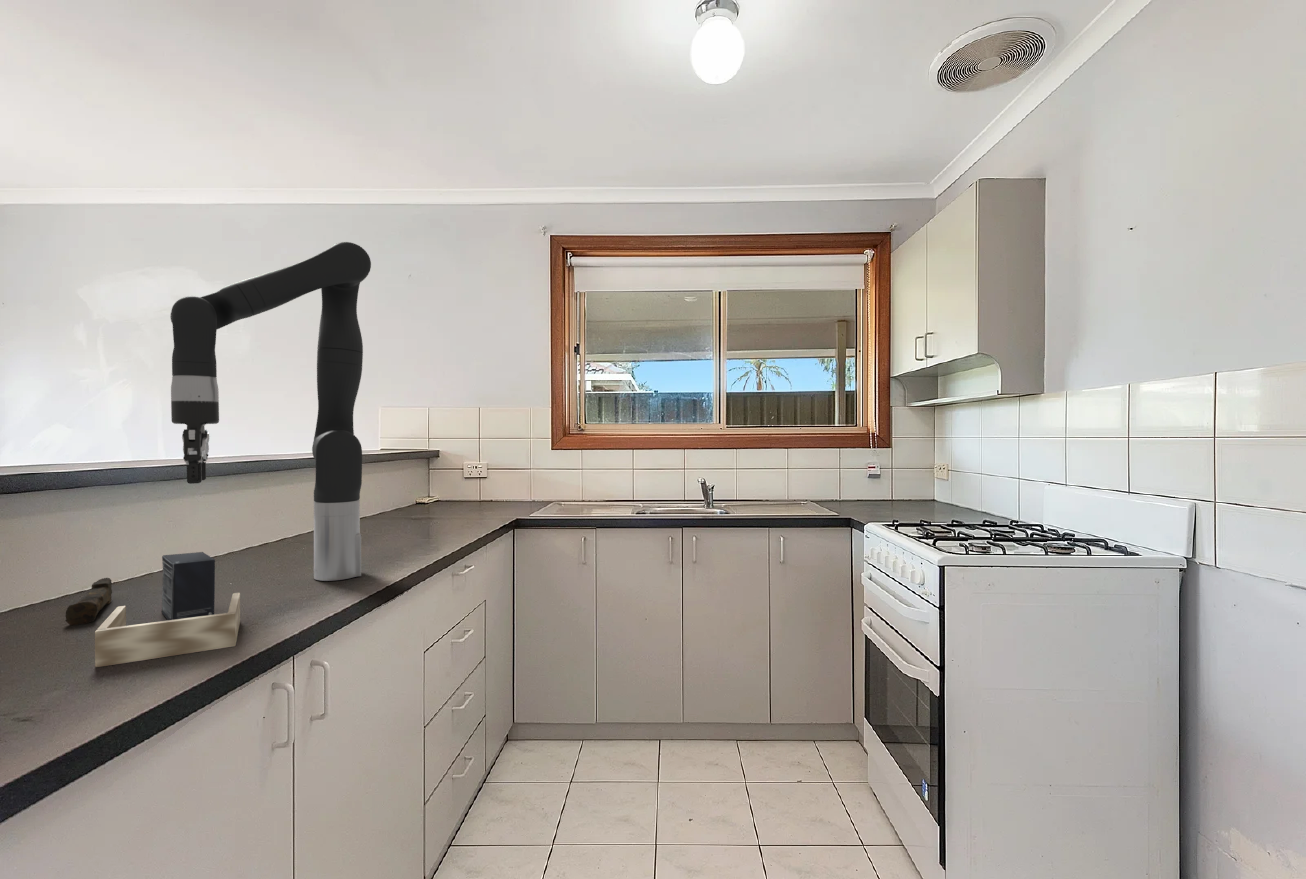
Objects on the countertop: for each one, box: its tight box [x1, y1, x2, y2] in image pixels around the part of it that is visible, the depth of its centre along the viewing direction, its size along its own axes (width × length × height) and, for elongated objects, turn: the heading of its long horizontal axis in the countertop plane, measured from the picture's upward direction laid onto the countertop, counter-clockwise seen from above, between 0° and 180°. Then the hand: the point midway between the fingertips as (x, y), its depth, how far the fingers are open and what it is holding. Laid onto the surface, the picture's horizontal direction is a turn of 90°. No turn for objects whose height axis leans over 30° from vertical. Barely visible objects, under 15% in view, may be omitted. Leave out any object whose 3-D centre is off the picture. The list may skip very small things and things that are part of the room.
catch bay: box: [94, 592, 241, 668], centre depth 93 cm, size 16×14×5 cm
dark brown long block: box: [65, 577, 113, 626], centre depth 110 cm, size 19×4×5 cm, turn 30°
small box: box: [160, 551, 216, 621], centre depth 107 cm, size 11×6×10 cm, turn 47°
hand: (197, 481), depth 119 cm, fingers open, 8 cm apart
